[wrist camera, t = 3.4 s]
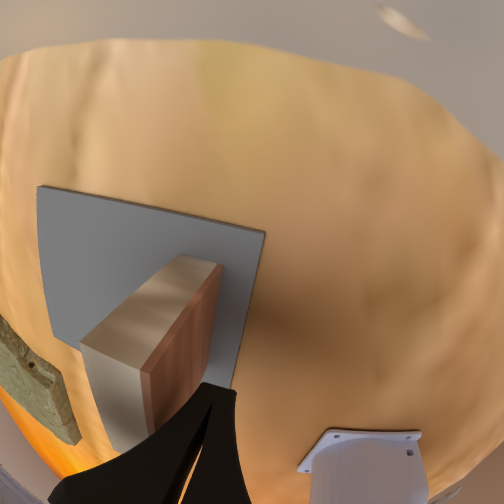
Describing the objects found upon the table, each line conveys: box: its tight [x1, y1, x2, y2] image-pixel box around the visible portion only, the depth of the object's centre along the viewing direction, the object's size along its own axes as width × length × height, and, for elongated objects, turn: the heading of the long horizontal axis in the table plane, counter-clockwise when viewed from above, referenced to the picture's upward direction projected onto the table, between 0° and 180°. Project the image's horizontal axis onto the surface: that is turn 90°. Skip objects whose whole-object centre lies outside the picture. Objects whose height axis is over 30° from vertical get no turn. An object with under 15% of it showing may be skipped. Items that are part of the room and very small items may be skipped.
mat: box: [37, 186, 265, 389], centre depth 16 cm, size 16×13×1 cm
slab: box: [79, 254, 223, 454], centre depth 11 cm, size 2×7×8 cm, turn 169°
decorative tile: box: [0, 315, 82, 446], centre depth 23 cm, size 19×20×4 cm
